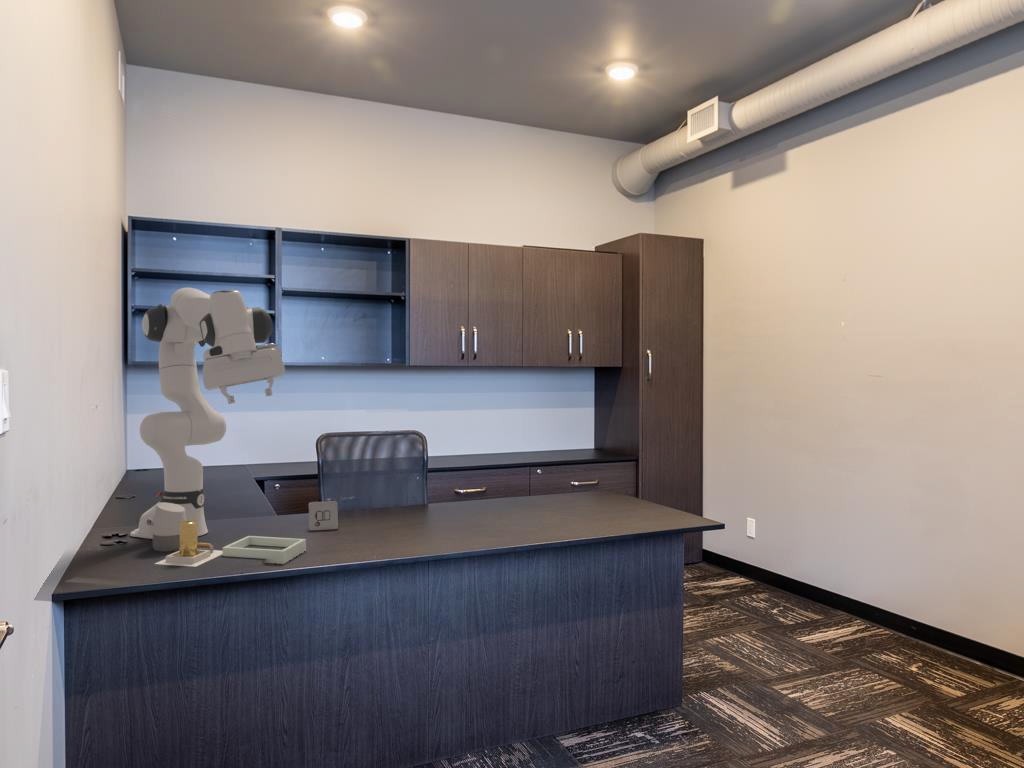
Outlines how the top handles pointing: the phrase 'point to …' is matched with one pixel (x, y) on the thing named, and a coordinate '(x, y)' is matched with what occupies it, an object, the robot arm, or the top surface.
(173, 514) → the smart speaker
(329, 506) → the electrical switch
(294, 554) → the tray
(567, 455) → the top surface
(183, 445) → the robot arm
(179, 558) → the base
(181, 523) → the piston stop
